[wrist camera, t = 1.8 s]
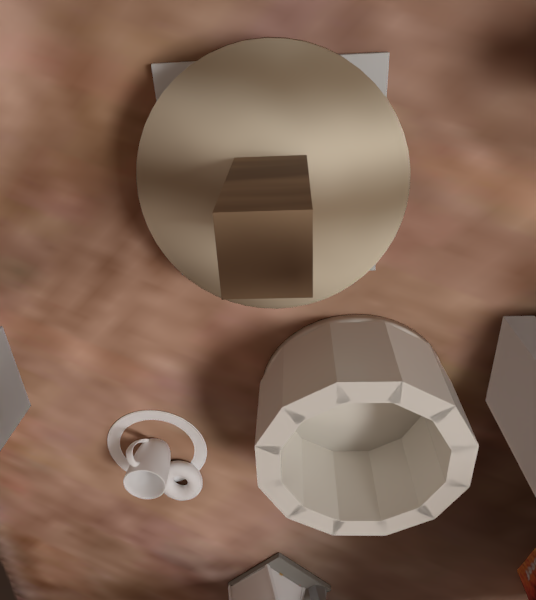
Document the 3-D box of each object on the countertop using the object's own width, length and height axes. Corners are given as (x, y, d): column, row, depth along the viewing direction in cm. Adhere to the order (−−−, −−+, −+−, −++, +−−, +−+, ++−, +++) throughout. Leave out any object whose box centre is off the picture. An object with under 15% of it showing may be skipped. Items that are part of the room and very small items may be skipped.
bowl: (257, 316, 33) (249, 383, 27) (455, 312, 33) (493, 380, 26) (266, 455, 40) (261, 534, 34) (432, 455, 39) (458, 536, 33)
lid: (128, 43, 25) (32, 59, 16) (411, 28, 24) (487, 37, 15) (168, 289, 32) (118, 401, 23) (390, 284, 31) (432, 399, 22)
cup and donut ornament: (214, 484, 42) (207, 526, 39) (122, 484, 43) (106, 527, 39) (201, 405, 38) (191, 445, 35) (99, 406, 39) (80, 446, 35)
